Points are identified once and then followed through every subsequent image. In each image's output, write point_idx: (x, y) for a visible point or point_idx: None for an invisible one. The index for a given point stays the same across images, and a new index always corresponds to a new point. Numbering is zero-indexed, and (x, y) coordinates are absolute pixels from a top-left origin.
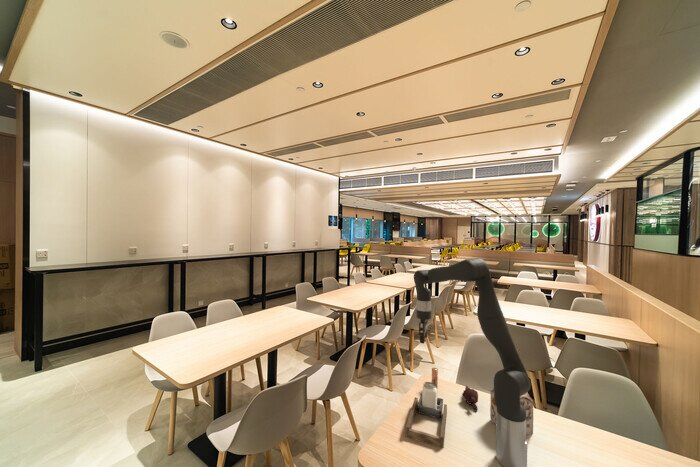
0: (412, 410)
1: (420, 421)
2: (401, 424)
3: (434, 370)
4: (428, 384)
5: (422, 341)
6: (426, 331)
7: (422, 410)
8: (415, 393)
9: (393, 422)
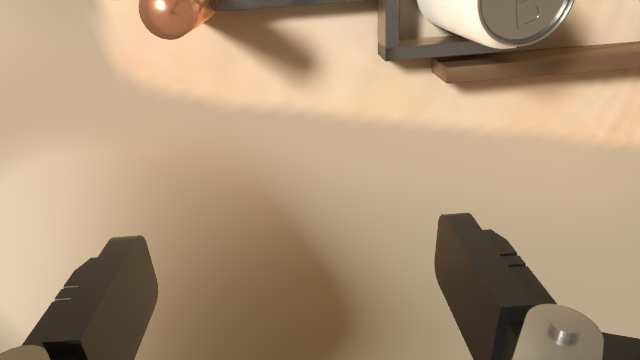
0: (576, 65)
1: None
2: (595, 93)
3: (193, 9)
4: (504, 7)
5: (505, 256)
6: (88, 335)
7: None
8: (315, 97)
9: (588, 128)
